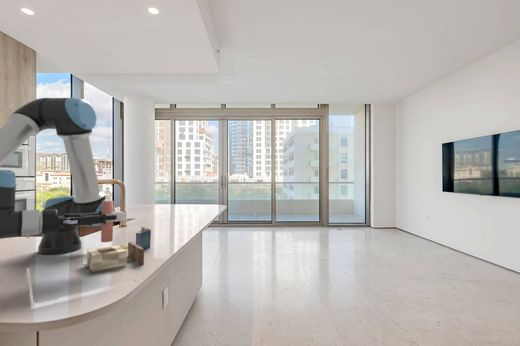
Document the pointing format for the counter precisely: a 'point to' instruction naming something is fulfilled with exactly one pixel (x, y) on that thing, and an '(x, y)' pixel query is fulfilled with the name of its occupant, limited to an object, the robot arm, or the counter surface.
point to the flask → (143, 238)
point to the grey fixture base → (132, 259)
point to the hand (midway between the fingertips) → (124, 215)
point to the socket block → (106, 258)
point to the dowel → (108, 227)
